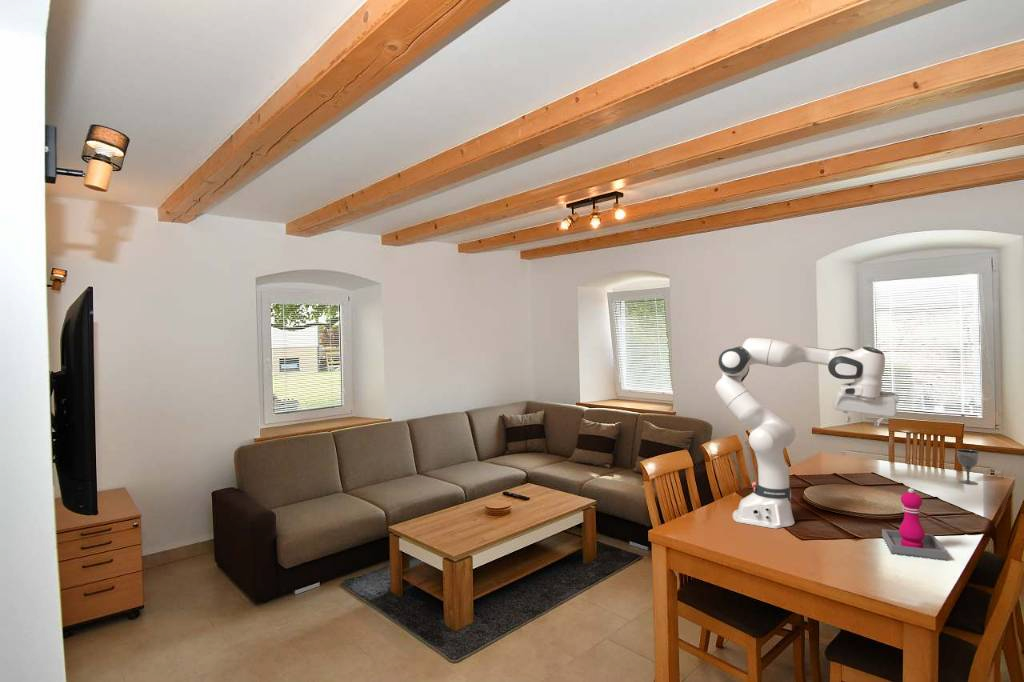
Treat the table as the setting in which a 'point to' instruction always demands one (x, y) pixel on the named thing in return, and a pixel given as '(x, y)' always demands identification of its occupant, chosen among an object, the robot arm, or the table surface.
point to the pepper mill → (911, 520)
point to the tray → (929, 550)
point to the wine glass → (968, 462)
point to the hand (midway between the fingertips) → (861, 423)
